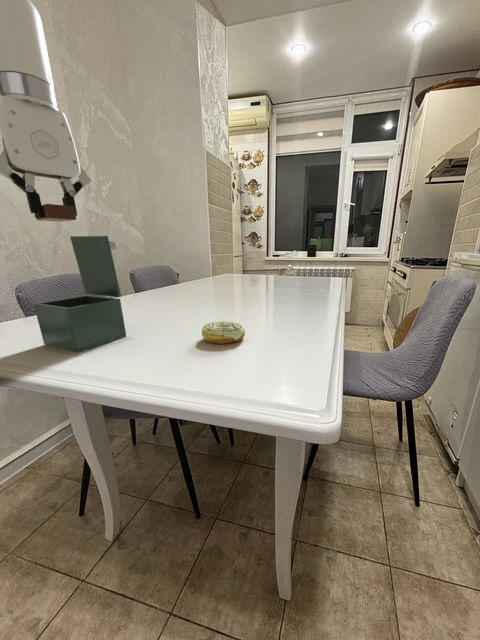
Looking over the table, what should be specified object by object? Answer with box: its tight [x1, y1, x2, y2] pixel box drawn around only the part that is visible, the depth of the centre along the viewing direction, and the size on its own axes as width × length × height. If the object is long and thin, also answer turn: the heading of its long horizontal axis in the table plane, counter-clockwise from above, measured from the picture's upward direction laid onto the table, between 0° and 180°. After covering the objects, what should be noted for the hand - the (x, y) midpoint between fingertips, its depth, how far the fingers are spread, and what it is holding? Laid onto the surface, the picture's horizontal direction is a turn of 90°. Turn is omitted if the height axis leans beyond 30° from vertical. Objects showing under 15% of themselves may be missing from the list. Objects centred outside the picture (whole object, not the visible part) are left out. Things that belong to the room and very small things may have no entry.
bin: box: [33, 294, 127, 353], centre depth 70 cm, size 13×12×10 cm
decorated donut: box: [201, 321, 246, 345], centre depth 73 cm, size 10×11×4 cm
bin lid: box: [69, 235, 122, 298], centre depth 73 cm, size 14×12×5 cm
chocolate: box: [36, 203, 77, 223], centre depth 54 cm, size 9×4×2 cm, turn 48°
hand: (55, 218), depth 54 cm, fingers closed on chocolate, 4 cm apart
